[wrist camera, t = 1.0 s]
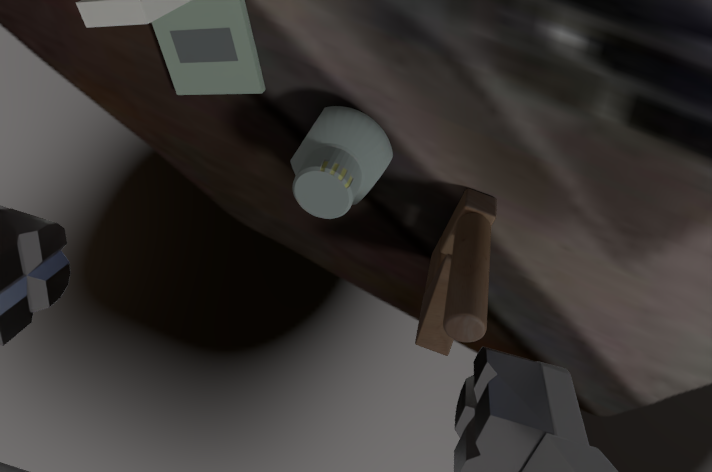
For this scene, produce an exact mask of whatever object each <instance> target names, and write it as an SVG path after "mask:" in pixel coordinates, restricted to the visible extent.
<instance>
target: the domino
mask: <svg viewBox="0 0 712 472" xmlns="http://www.w3.org/2000/svg"><path fill="white" fill-rule="evenodd" d="M189 1H191V0H81V1H79V2H76V4H77V7H78V9H79V11H80V14H81V16H82V18H83V21H84V23H85V25H86V27H87V28H88V27H104V26H121V25H137V24H149V23H151V22H153V21H154V20H156V19H158V18H160V17H162V16H164V15H165V14H167V13H169V12H171V11H173V10H175V9H177V8H178V7H180V6H182V5H184V4H186V3H188V2H189Z"/></svg>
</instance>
